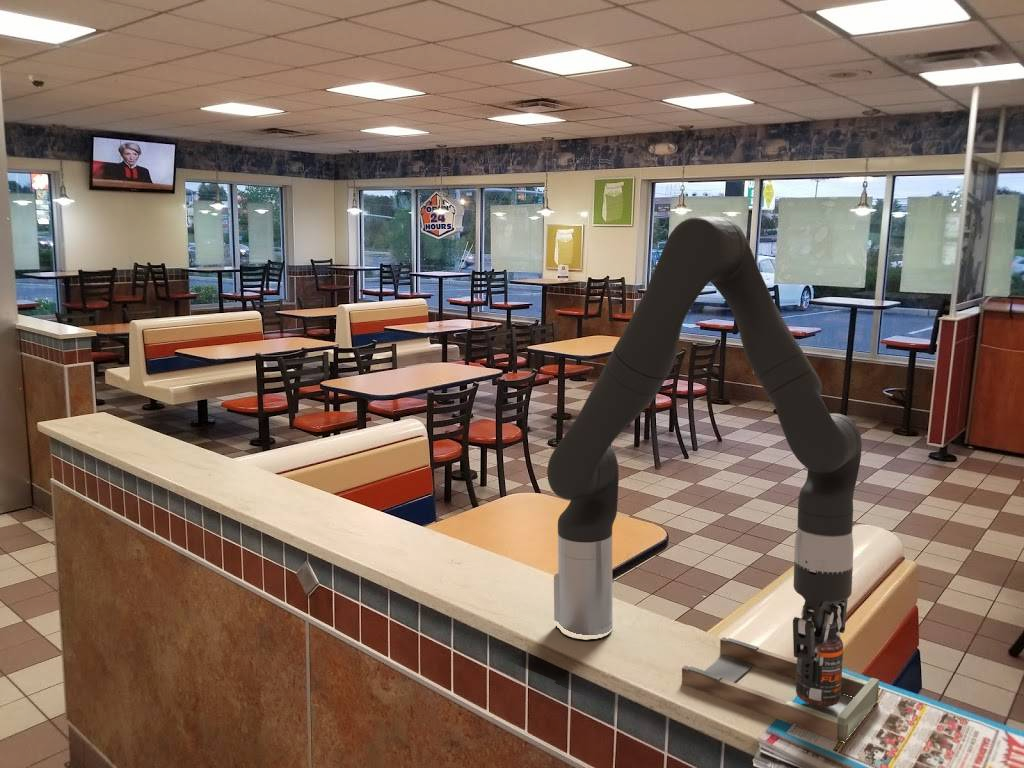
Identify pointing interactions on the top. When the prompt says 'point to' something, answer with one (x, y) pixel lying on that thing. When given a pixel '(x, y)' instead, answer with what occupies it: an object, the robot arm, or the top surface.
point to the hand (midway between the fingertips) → (818, 673)
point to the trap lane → (742, 660)
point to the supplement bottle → (824, 673)
